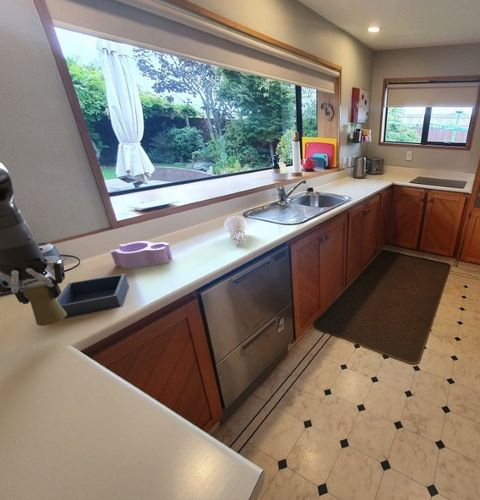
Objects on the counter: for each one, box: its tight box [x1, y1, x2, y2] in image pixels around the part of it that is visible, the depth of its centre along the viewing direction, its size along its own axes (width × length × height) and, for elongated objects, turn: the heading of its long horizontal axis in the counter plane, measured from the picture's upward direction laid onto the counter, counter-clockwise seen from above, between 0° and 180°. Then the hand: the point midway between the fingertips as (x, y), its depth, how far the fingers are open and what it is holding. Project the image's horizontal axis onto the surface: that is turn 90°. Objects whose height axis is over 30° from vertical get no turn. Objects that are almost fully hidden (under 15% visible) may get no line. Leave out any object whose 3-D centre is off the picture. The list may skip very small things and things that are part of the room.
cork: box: [23, 281, 67, 327], centre depth 75 cm, size 6×6×11 cm
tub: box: [56, 273, 130, 319], centre depth 94 cm, size 16×16×6 cm
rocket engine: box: [224, 215, 248, 247], centre depth 146 cm, size 12×12×18 cm
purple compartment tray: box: [110, 240, 173, 269], centre depth 122 cm, size 20×12×7 cm, turn 101°
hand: (42, 299), depth 75 cm, fingers closed on cork, 5 cm apart
